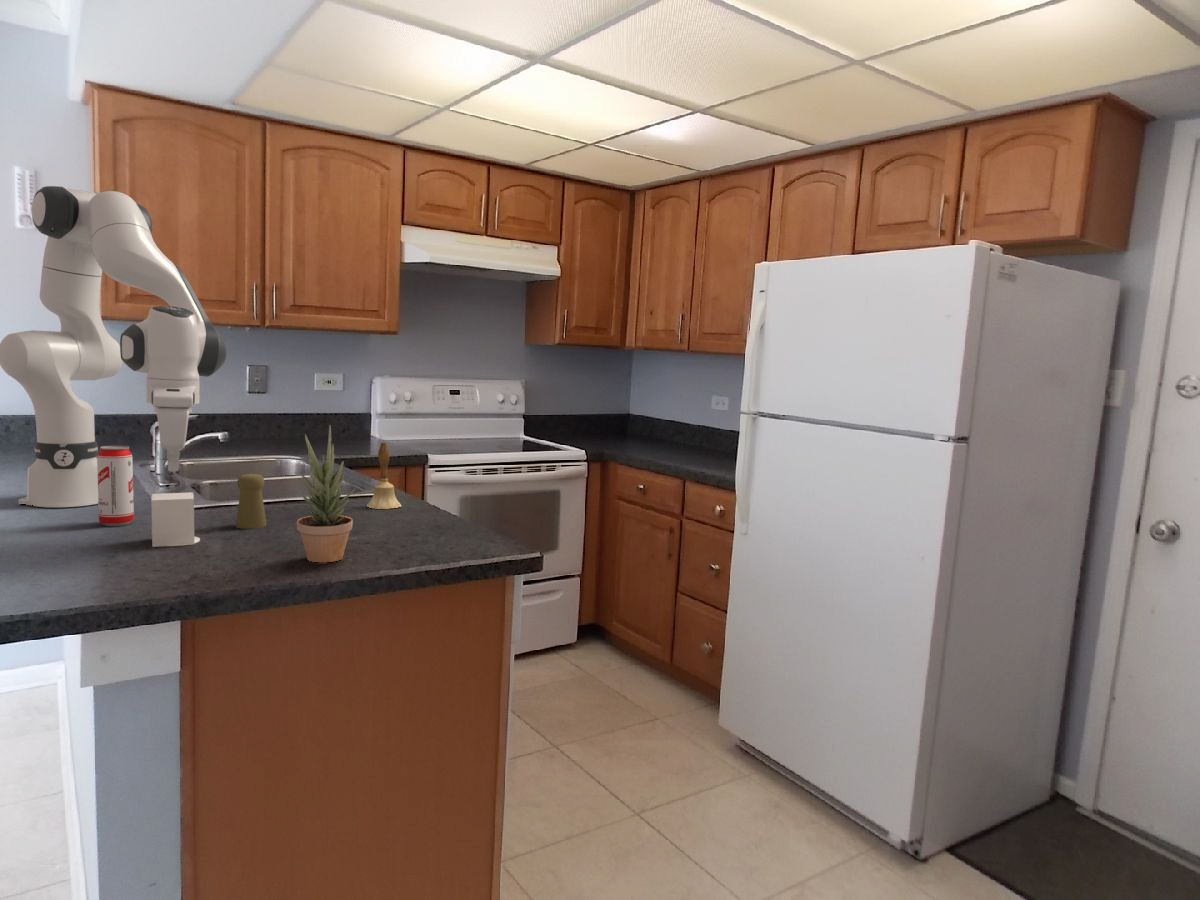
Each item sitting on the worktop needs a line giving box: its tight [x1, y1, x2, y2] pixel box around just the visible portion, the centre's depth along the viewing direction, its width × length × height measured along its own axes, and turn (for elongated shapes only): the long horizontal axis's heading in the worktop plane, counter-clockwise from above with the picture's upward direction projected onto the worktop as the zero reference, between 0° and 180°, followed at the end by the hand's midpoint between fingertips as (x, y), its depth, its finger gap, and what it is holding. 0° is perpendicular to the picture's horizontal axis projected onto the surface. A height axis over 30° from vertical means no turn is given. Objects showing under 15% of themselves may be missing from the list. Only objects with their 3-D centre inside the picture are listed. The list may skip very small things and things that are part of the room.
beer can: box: [96, 445, 135, 527], centre depth 166 cm, size 6×6×16 cm
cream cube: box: [151, 491, 195, 548], centre depth 154 cm, size 7×7×9 cm
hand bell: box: [366, 441, 402, 509], centre depth 197 cm, size 8×8×16 cm
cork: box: [235, 473, 267, 530], centre depth 170 cm, size 6×6×11 cm
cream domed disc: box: [163, 536, 201, 547], centre depth 155 cm, size 8×8×1 cm
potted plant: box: [296, 424, 356, 563], centre depth 145 cm, size 10×10×25 cm
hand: (173, 466), depth 153 cm, fingers open, 8 cm apart
